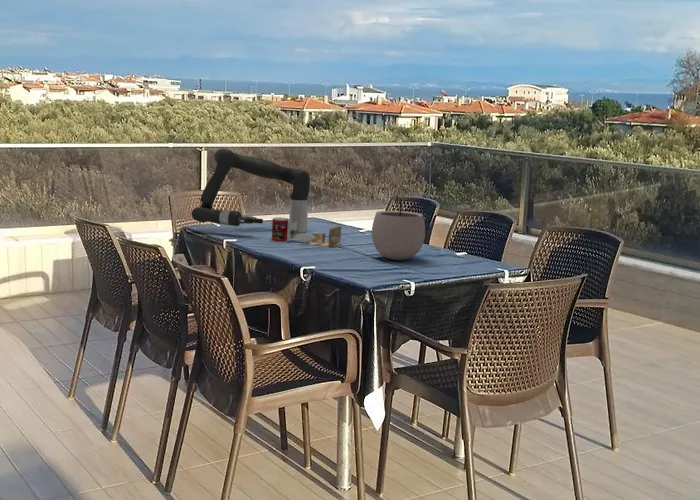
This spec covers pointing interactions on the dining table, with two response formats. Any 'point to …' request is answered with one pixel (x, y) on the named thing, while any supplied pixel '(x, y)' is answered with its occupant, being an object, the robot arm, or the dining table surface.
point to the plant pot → (398, 233)
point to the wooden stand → (319, 238)
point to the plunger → (293, 232)
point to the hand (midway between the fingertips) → (262, 221)
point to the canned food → (279, 229)
